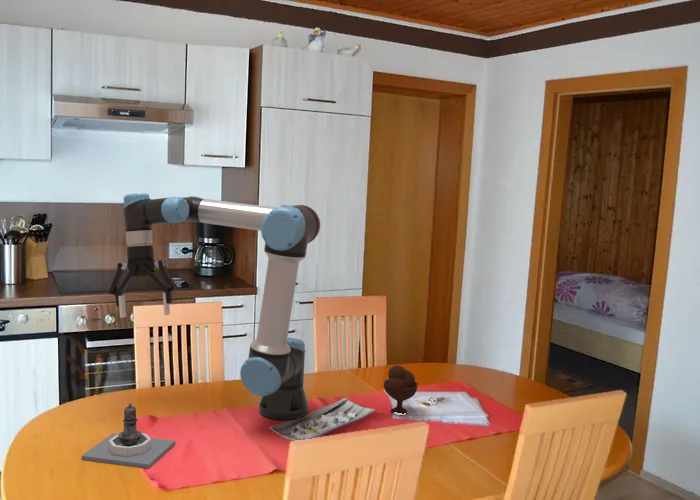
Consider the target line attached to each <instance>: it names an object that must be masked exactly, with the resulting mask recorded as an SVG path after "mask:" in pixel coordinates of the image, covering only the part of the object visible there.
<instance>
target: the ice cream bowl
mask: <svg viewBox="0 0 700 500" xmlns="http://www.w3.org/2000/svg"><path fill="white" fill-rule="evenodd" d="M387 378H388V379H384V381H383V388H384V391H385V393H386V394H387V396H389V397H390V398H391V399H394V400H395V401H396V406H395V407H393V408H391V410H390V413H391V414H392V415H394V414H393V413H394V412H397V413H402V414H404V413H407V411H408V410H407V409H405V408H404V407H403V403H404V401H407V400H409V399H411V398H412V397H414V396H415V395H416V393H417V390H418V386H419V382H417V381H416V378H415V375H414V373H413V372H411V371H410V370H408V369H405V368H404V367H403V366H401V365H397V364H395V365H393V366H391V367H390V368H389V369H388V377H387Z"/></svg>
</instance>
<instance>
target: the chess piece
mask: <svg viewBox="0 0 700 500" xmlns="http://www.w3.org/2000/svg"><path fill="white" fill-rule="evenodd" d="M123 410H124V411H123V412H124V413H123V414H124V415H123V417H124V418H123V420H122V423H123V430H122V431H121V432H120V433H117V434H118V437H119V440H120V442H121V443H122V444H123V445H122V446H126V447H129V446H135V445H139V444H137V443H138V442H139V440H140V438H141V435H142V433H143V432H141V431H140V430H138V429H137V422H138V418H137V408H136V407H135V406H133V405H132V403H131V402H129V404H128V406H126V407H125V408H124V409H123Z"/></svg>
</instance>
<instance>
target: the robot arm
mask: <svg viewBox="0 0 700 500" xmlns="http://www.w3.org/2000/svg"><path fill="white" fill-rule="evenodd" d="M122 209H123V215H124V216H123V217H124V223H125V241H126V242H125V243H126V246H127V248H126V256H127V262H126V263H125V262H118V263H117V265H116V267H117V269H116V272H115V276H114V278H113V280H112V282H111V286H110V288H109V290H108V293H109V294H110V295H113V296H114V297H115V305H116V307H117V308H118V307H119V309H118V310H119V318H120V319H123V318H126V317H127V309H126V296H125V294H123V293H124V292H125V291H126V289H127V287H128V286H129V285H130V284H131V282H132V281H133V279H134V278H135V277H136V278H137V277H138V278H139V277H150V278H151V279H152V280H153V281H154V282H155V283H156V284H157V285H158V286H159V287H160V288H161V289H162V290H163V291H164V292H163V293H162V301H163V314H164V315H163V316H168V315H170V314H171V310H170V309H171V308H170V304H172V302H173V296H172V295H173V294H172V293H173V292H174V291H177V289H178V286H177V284H176V283H175V280H174V279H173V277H172V275H171V274H170V272H169V270H168V269H167V266H166V261H165V260H164V259H161V260H158V261H157V260H156V261H155V258H154V257H155V256H154V246H153V245H152V244H153V241H154V240H153V230H152V229H153V228H152V225H160V224H161V225H163V224H166V225H167V224H179V223H183V222H193V223H194V222H195V223H200V224H209V225H217V226H224V227H230V228H238V229H246V230H251V231H252V230H253V231H260V232H261V237H262V239H263V241H264V243H265V244H264V249H263V250H264V251H263V252H264V253H265V255H266V256H267V258H268V259H267V268H266V273H265V274H266V275H265V279H264V281H265V282H264V288H263V294H262V301H261V305H260V307H261V308H260V314H259V320H258V321H259V322H258V328H257V333H256V334H257V335H256V338H255V339H254V340H253V341H251V343H250V345H249V353H248V358H247V359H246V360H244V362H243V364H242V365H241V367H240V372H239V373H240V374H239V375H240V379H241V383H242V384H243V386H244V387H245V389H246V390H247V391H248V392H249V393H251V394H252V395H255V396H259V397H261V398H260V401H259V405H258V413H259V415H261V416H263V417H265V418H268V419H271V420H278V421H287V420H288V421H289V420H290V421H291V420H296V419H295V418H297V417H300V416H303V415H305V416H307V414H308V413H309V403H308V399H307V396H306V392H305V388H304V379H305V358H306V348H305V345H306V344H305V341H303V340H302V339H299V338H296V337H295V338H294V337H289V336H288V334H289V329H290V324H291V323H290V322H291V315H292V310H293V304H294V298H295V297H294V296H295V291H296V284H297V278H298V271H299V264H300V262H301V261H302V260H304V259H305V258H306V256H307V248H308V244H309V243H312V242H313V241H314V240H315V239H316V238H317V237H318V235H319V233H320V229H321V220H320V217H319V215H318V213H317V212H316V211H315V210H314V209H313V208H312V207H310V206H308V205H303V204H295V205H287V204H286V205H285V204H281V205H279V206H278V207H276V206H275V207H274V206H266V205H259V204H251V203H250V204H249V203H241V202H234V201H225V200H218V199H217V200H216V199H209V198H202V197H200V196H199V197H198V196H185V197H184V196H183V197H181V196H170V197H161V198H154V199H153V198H150V195H149V194H148V193H145V192H144V193H137V192H136V193H128V194H125V195H124V197H123V208H122ZM155 267H157V268H158V269H159V271H160V272H161V275H162V277H163V278H164V280H163V278H162V277H160V275H159V274H158V273H157V272H156V270H154V269H155ZM127 269H128V271H129V272H128V273H127V275H126V277H125V278H124V279H123V281H121V280H122V278H123V275H124V273H125V270H127ZM121 282H122V283H121ZM303 417H304V416H303ZM297 419H298V418H297Z"/></svg>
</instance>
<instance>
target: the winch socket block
mask: <svg viewBox="0 0 700 500" xmlns="http://www.w3.org/2000/svg"><path fill="white" fill-rule="evenodd" d="M141 433H142V435H141V438H140V440H139V442H138V443H137V444H139V445H135V446H129V447H126V446H122V445H123V444H122V443H121V442H120V440H119V437H118V434H119V433H118V432H117V433H115V432H114V433H111V434H110V435H109V436H106V438H104V439H102V440H101V441H99V443H97V444H96V445H94V446H93V447H92V448H90V449H89V450H87V451H85V453H84V454H81V460H82V461H90V462H97V463H104V464H112V465H113V464H114V465H120V466H128V467H135V468H143V469H150V468H151V467H152V466H153V465H154V464H155V463H156V462H157V461H159V460H160V459H161V458H162V457H163V456H164V455H165V454H166V453H167V452H168V451H169V450H171V449H172V448H173V447H174V446H175V445H176V440H173V439H164V438H157V437H156V438H155V437H150V436H149V435H148V434H147V433H144V432H141Z"/></svg>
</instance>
